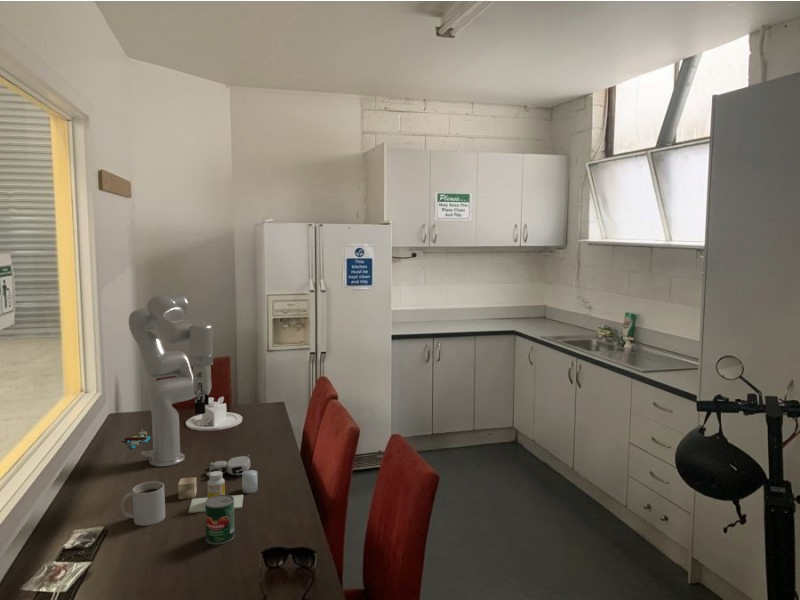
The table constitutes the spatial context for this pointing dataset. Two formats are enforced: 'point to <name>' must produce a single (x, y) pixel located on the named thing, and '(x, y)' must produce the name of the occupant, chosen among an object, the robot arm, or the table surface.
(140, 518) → the mug
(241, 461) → the robot toy
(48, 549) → the table surface
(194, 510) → the sage mat
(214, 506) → the canned tomato
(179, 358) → the robot arm
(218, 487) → the supplement bottle
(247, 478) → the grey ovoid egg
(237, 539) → the table surface
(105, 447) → the table surface
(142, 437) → the gear mechanism
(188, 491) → the birch block
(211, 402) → the dish
